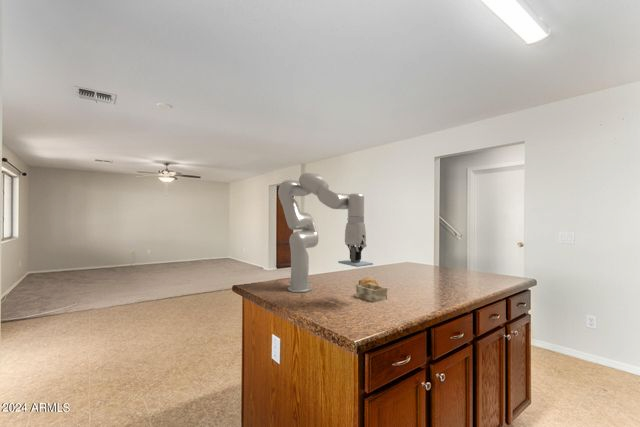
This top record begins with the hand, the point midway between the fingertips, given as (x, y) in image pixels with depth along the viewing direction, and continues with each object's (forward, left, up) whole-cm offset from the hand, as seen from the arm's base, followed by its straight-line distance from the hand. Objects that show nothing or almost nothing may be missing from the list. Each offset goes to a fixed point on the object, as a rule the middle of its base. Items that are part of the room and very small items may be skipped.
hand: (355, 259), depth 150 cm
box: (0, +11, -21) cm, 24 cm away
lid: (0, 0, -2) cm, 2 cm away
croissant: (-14, +23, -21) cm, 34 cm away
